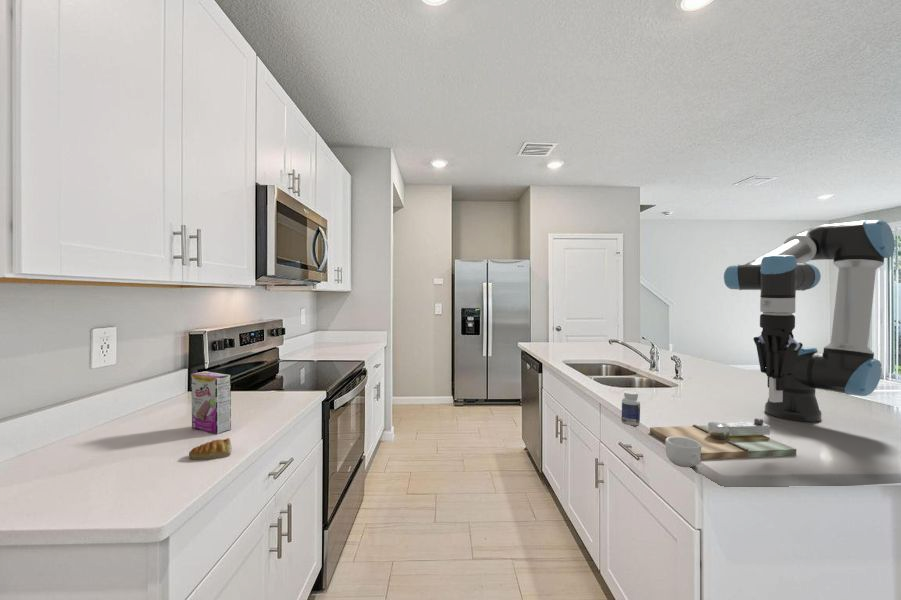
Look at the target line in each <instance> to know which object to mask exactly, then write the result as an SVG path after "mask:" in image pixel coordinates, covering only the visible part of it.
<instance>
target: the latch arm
mask: <svg viewBox="0 0 901 600" xmlns="http://www.w3.org/2000/svg"><path fill="white" fill-rule="evenodd" d="M707 425H708V433H709V434H711V435H714V436H718V437H728V436H743V435H764V436H767V435H768V436H769V435H771V425H769V424H767V423H764V420H763V419H761V418H754V419H753V421H739V422H738V421H737V422H733V421H732V422H717V421H710V422H708V424H707Z"/></svg>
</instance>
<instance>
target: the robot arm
mask: <svg viewBox="0 0 901 600" xmlns="http://www.w3.org/2000/svg"><path fill="white" fill-rule="evenodd" d="M895 244H896V243H895V237H894V233H893V230H892V228H891V226H890V224H888V222H886V221H885V220H882V219H871V220H868V219H867V220H866V219H864V220H859V221H858V220H857V221H849V222H837V223H826V224H821V225H816V226H814V227H810V228H808V229H805V230H802V231H800V232H798V233H796V234H793V235H792V236H790V237H788V238H787V239H786V240H784V241H783V243H782V244H781V245H779V246H777V247H776V248H774V249H772V250H770V251H768V252H766V253H764V254H762V255H761V256H759V257H756V258H754V259H753V260H751V261H748V262H747V263H745V264H735V265H729V266H728V267H726V269H725V270H724V272H723V282H724V285H725V286H726V287H727V289H730V290H737V291H738V290H739V291H760V301H759V302H760V304H759V305H760V307H759V312H760V315H759V327H760V328H761V329H762V330H761V332H760V335H759V336H755V337H753V339H752V340H753V341H754V344H755V347H756V351H757V352H756V353H757V356H758V357H757V358H758V364H759V368H760V369H759V370H760V372H761V373H764V374H765V375H766V377H767V389H768V398H767V401H766V402H765V404H764V412H765V413H766V414H768V415H770V416H774V417H777V418H781V419H784V420H785V419H786V420H791V421H798V422H809V423H810V422H813V423H814V422H815V423H816V422H820V421H821V420H822V415H823V414H822V411H821V410H820V407H819V403H818V400H817V396H816V390H821V391H822V390H823V391H827V392H834V393H838V394H839V393H840V394H845V395H847V396H848V395H849V396H852V395H853V396H859V397H867V396H869V395H871V394H872V393H873V392H874V391H875V390H876V389H877V387H878V386H879V383H880V380H881V377H882V371H883V368H882V363H881V361H880V360H879V359H877V358H875V352H873V350H871V349H870V348H869V340H870V331H871V330H870V328H871V320H872V312H873V311H872V310H873V309H872V308H873V302H874V301H873V300H874V292H875V282H876V274H877V270H878V269H879V268H881V267H882V266H883V265H884V264H885V259H888V258H891V257H892V256H893V255H894V252H895V249H896V248H895V247H896V245H895ZM817 260H818V261H820V260H833V262H832V263H833V265H834V266H835V267H836V268H837V269H838V274H837V282H836V292H835V293H836V294H835V300H834V311H833V318H832V319H833V320H832V328H831V336H830V337H831V338H830V343H828V344H827V345H825V346H824V347H823V353H822V352H818V348H817V347H810V346H809V347H808V346H807V347H806V346H803V345H804V344H803V343H802V342H797V340H796V339H794V338H795V337H794V334H793V331H794V329H795V327H796V316H795V315H794V314H796V298H797V297H796V292H797V291H801V292H803V291H807V290H810V289H813V288H815V287H816V286H817V285H818V284H819V283H820V281H821V272H820V270H819V268H818V267H817V266H815V265H814V264H811V263H807V262H811V261H817Z"/></svg>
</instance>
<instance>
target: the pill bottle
mask: <svg viewBox="0 0 901 600" xmlns="http://www.w3.org/2000/svg"><path fill="white" fill-rule="evenodd" d="M623 394H624V395H623V397H624V398H622V400H621V417H620V418H621V423H622V424H624V425H626V426H638V425H640V424H641V418H640V417H641V401H640V399H638V398H639V393H638V392H636V391H632V390H631V391H630V390H628V391H627V390H626V391H624V392H623Z"/></svg>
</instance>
